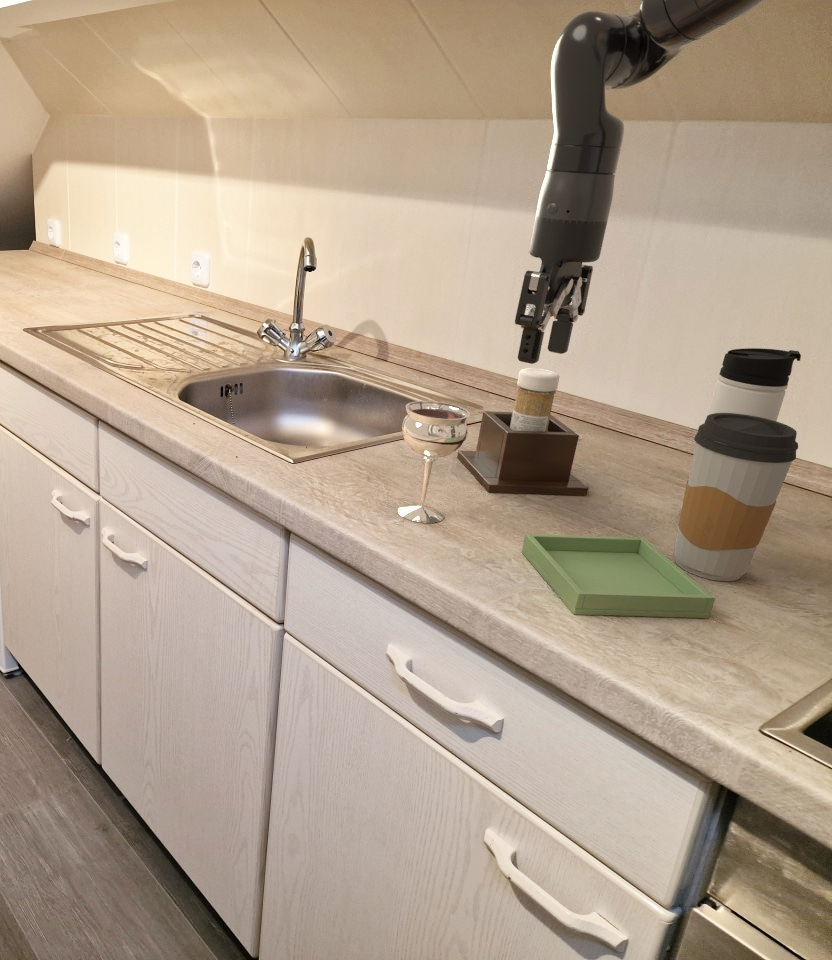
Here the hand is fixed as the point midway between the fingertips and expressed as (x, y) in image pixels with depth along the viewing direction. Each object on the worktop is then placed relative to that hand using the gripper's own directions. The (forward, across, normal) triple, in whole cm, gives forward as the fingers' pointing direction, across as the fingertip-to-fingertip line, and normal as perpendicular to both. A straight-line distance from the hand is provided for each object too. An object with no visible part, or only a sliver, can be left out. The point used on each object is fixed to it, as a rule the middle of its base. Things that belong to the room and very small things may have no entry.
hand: (542, 357), depth 101 cm
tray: (+15, -21, -18) cm, 32 cm away
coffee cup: (+15, -10, -24) cm, 30 cm away
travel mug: (+15, +3, -21) cm, 26 cm away
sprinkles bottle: (+15, 0, 0) cm, 15 cm away
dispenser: (+15, 0, 0) cm, 15 cm away
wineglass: (+15, -20, +2) cm, 26 cm away
